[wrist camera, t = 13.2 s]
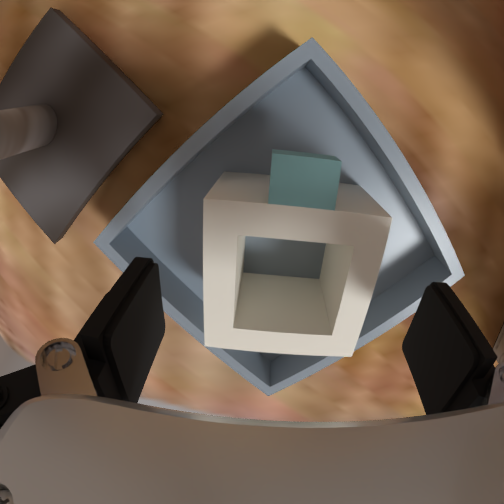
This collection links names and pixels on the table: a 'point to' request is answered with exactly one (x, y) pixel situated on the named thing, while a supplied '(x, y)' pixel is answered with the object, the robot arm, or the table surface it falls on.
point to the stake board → (65, 122)
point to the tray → (281, 250)
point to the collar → (284, 287)
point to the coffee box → (500, 347)
